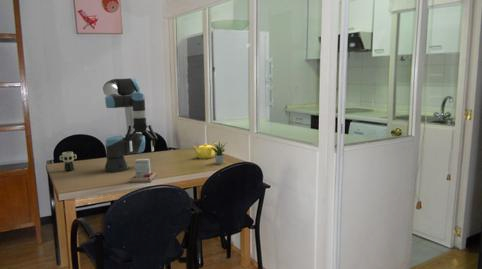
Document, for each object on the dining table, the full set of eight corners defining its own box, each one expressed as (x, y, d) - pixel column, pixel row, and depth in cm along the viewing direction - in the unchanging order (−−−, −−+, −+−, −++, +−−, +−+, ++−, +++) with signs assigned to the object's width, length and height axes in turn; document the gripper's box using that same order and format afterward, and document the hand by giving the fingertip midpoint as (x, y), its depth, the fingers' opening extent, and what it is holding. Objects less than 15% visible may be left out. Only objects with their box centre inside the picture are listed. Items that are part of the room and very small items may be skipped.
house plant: (224, 159, 290) (223, 138, 288) (234, 162, 279) (233, 140, 277) (207, 162, 283) (206, 140, 280) (217, 165, 271) (216, 143, 269)
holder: (129, 182, 234) (129, 178, 234) (137, 176, 249) (137, 172, 248) (150, 182, 233) (150, 178, 233) (157, 175, 248) (157, 172, 248)
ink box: (151, 176, 243) (150, 158, 241) (149, 178, 238) (148, 159, 237) (137, 176, 243) (136, 158, 241) (135, 178, 238) (134, 160, 237)
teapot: (199, 161, 288) (198, 147, 286) (189, 158, 300) (188, 144, 299) (223, 157, 300) (223, 143, 299) (213, 154, 313) (213, 141, 311)
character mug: (60, 172, 266) (58, 154, 264) (61, 170, 272) (59, 152, 270) (77, 170, 270) (76, 152, 268) (77, 168, 276) (76, 150, 274)
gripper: (117, 118, 232) (120, 152, 235) (157, 117, 231) (160, 152, 234) (121, 117, 239) (124, 150, 243) (161, 116, 238) (163, 149, 241)
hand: (141, 151), depth 238 cm, fingers open, 13 cm apart
